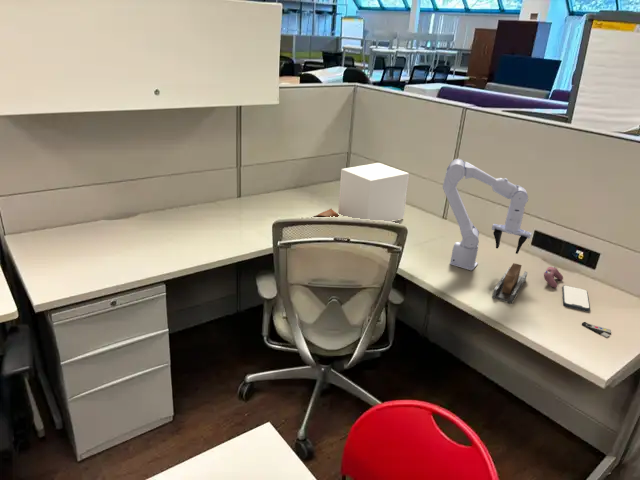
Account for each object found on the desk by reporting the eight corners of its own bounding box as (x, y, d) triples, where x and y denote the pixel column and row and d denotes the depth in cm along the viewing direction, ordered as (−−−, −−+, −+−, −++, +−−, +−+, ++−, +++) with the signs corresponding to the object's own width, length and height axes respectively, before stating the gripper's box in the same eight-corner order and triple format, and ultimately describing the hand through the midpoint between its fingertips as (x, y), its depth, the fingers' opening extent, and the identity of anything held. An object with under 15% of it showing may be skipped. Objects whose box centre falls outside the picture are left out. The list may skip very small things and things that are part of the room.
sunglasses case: (323, 227, 230) (318, 214, 230) (312, 231, 235) (307, 218, 234) (343, 217, 244) (338, 204, 244) (333, 220, 249) (328, 208, 248)
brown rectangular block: (501, 291, 180) (505, 274, 177) (509, 279, 190) (513, 262, 187) (510, 294, 179) (514, 277, 176) (517, 281, 188) (521, 265, 185)
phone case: (561, 288, 188) (562, 307, 175) (562, 284, 188) (563, 303, 174) (586, 293, 185) (589, 313, 172) (587, 289, 185) (591, 309, 171)
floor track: (492, 297, 178) (494, 289, 177) (507, 274, 195) (509, 267, 194) (511, 303, 175) (514, 295, 173) (525, 280, 192) (527, 272, 190)
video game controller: (552, 280, 196) (547, 264, 195) (564, 279, 193) (559, 262, 192) (545, 289, 189) (540, 272, 188) (557, 288, 186) (552, 271, 185)
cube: (374, 207, 261) (378, 162, 251) (403, 220, 245) (409, 173, 235) (338, 215, 247) (341, 168, 237) (366, 230, 231) (370, 180, 221)
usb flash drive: (580, 325, 164) (581, 323, 164) (589, 321, 167) (590, 318, 167) (605, 339, 158) (606, 336, 157) (614, 334, 160) (615, 331, 160)
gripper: (492, 216, 189) (485, 248, 194) (531, 226, 182) (523, 258, 187) (497, 211, 194) (490, 242, 200) (535, 220, 187) (527, 252, 193)
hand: (507, 250), depth 194 cm, fingers open, 7 cm apart
